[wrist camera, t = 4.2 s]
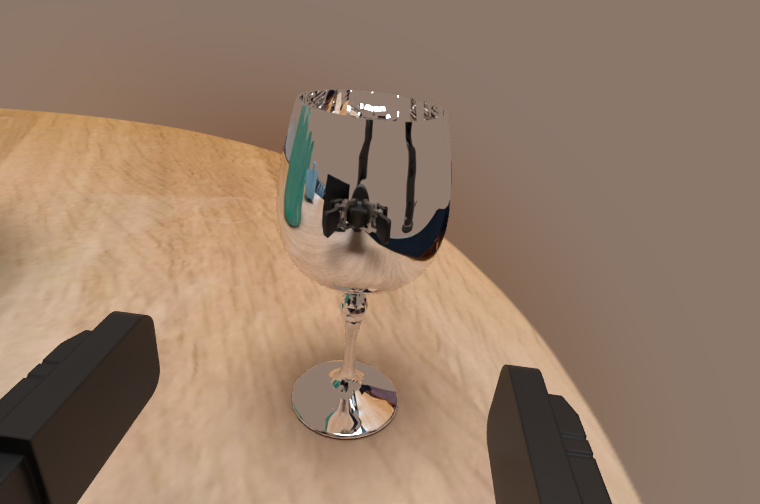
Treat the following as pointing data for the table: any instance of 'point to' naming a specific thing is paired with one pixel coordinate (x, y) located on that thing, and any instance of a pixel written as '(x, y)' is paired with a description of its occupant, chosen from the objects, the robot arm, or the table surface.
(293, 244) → the wineglass
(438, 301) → the table surface
